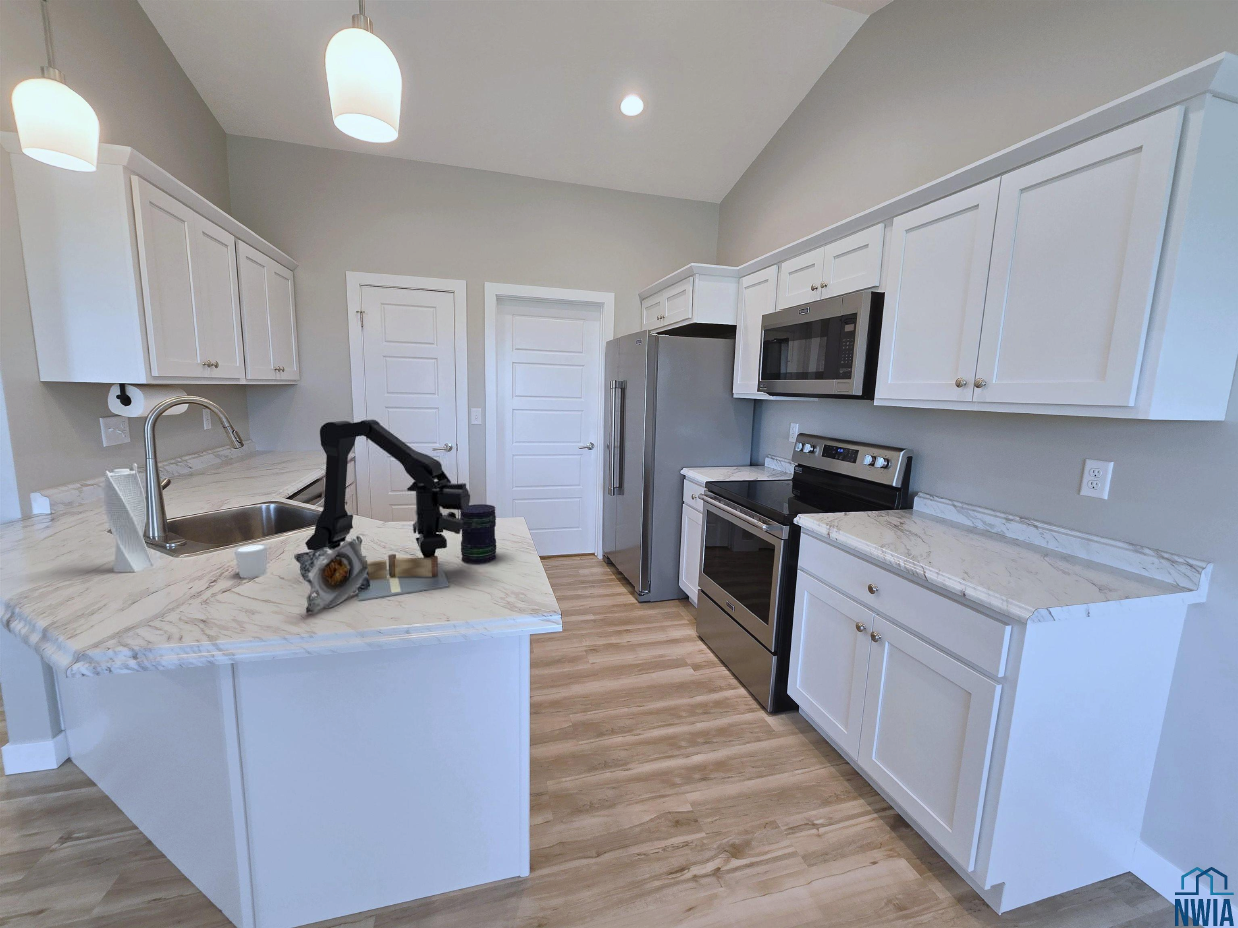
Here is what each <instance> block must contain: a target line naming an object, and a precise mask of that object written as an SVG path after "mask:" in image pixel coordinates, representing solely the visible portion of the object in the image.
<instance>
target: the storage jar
mask: <svg viewBox="0 0 1238 928" xmlns="http://www.w3.org/2000/svg"><path fill="white" fill-rule="evenodd" d="M459 511H460V512H459V513H460V515H459V516H460V517H459V519H461V520H462V521H463V526H462V529H461V541H460V552H461V562H462V563H463V564H467V565H484V564H485V565H486V564H488V563H492V562H494V561H495V560H496V559H497V555H496V553H497V539H496V526H497V525H496V524H497V521H496V520H497V515H496V507H495V505H492V504H484V503H483V504H482V503H481V504H480V503H478V504H469V506H468V508H467V509H466V510H459Z"/></svg>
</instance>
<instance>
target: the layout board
mask: <svg viewBox="0 0 1238 928" xmlns="http://www.w3.org/2000/svg"><path fill="white" fill-rule="evenodd" d="M361 587H363V586H361ZM438 588H440V589H444V588H445V589H446V588H451V585H450V584H449V581H448V579H447V577H446V575H445V572H444V571H443V568H442V566H441V565H440V563H439V562H438V576H436V577H396V576H394V577H390V576H389V568H387V578H386V579H379V580H372V581H370V587H368V588H366V587H364V589H360V590H357V594H358V602H363V601H371V600H375V599H382V598H389V597H394V596H401V595H402V596H403V595H407V594H413V593H414V592H415V593H420V591H421V592H425V591H424V590H427V591H432V589H434V590H439V589H438Z"/></svg>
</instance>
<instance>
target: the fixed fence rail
mask: <svg viewBox="0 0 1238 928" xmlns="http://www.w3.org/2000/svg"><path fill="white" fill-rule="evenodd" d="M365 564H366V565H367V566H368V573H369V579H370V581H372V580H379V579H386V578H387V570H388V565H387V564H388V563H387V559H381V560H373V561H368V560H366V559H365Z"/></svg>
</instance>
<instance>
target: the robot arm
mask: <svg viewBox="0 0 1238 928" xmlns="http://www.w3.org/2000/svg"><path fill="white" fill-rule="evenodd" d="M319 437H320V438H319V440H320V446H321V447H322V449H323V452H324V454H325V455H326V456H325V459H326V460H325V475H324V477H325V479H324V492H323V493H324V494H323V495H324V496H323V508H322V510H321V513H320V514H319V516H318V518H317V519H316V524H315V527H314V533H313V534H312V535H311V536H310V537H309V538H308V539H306V541H305V547H306V548H307V550H308V551H313V550H314V551H316V550H319V549H322V548H331V549H336V548H337V547H339V546H341V545H342V544H343V543H344V542H345V541H346V540H347V536H348V535H350V533H351V530H352V529H354V526H353V520H354V514H351V513H348V512H347V509H346V495H347V494H346V493H347V479H348V477H347V476H348V460H349V455H350V454H351V452H352V450H353V448H354V447H355V444H356V441H357V440H356V439H357V437H365V438H366V439H368V440H369V441H371V442H372V443H373V444H374V445H376V446H377V447H379V448H380V449H381V450H383V451H384V452H385V453H387V454H388V455H390V457H392V458H394V459H395V460H396V461H398V462H399V463H400V465H402V466H403V469H404V471H405V473H406V474H407V475H408V476H409V477H410V479H412V480H413V482H412V484H410V485H409V486H408V487H407V488H406V490H407V492H415V516H416V520H415V522H414V523H413V524H412V532H413V534H417V535H418V537H416V538H415V540H416V544H417V546H418V548H419V551H420V552H421V555H422V558H430V557H431V556H436V551H437V550H441V549H446V548H447V547H448V541H447V539H446V536H445V535H444V534H443V533H444V531H447V532H449V533H450V532H451V533H454V534H456V535H460V534H461V533H462V526H463V521H462V520H461V519H460V517H457V514H456V513H455V512H453V511H448V513H446V514H443V513H442V512H441V508H442V509H443V510H455V511H456V510H457V511H460V510H466V509H467V508H468V506H469V505H470V501H471V494H470V491H469V489H468V488H467V483H464V482H461V483H460V482H459V483H455V482H454V483H452V481H451V479H450V478H449V476H448V475H447V474H446V473H445V471H444V470H443V467H442V466H443V465H442V463H441V462H440V461H439V460H437V459H436V458H435V457H432V456H430V455H429V454H426V453H423V452H420V451H417V450H416V449H414V448H412V447H411V446H410V445H408V444H407V443H406V442H404V441H403V440H401V439H400V438H399V437H398V436H396V435H395V434H394V433H392V432H391V431H389V430H388V429H387V428H386V427H384V426H383V425H381V423H380V421H378V420H376V419H363V420H361V421H356V422H351V421H349V420H337V421H328V422H326V423H324V424H323V425H321V426H320V428H319ZM435 480H436V481H435ZM341 543H342V544H341Z"/></svg>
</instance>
